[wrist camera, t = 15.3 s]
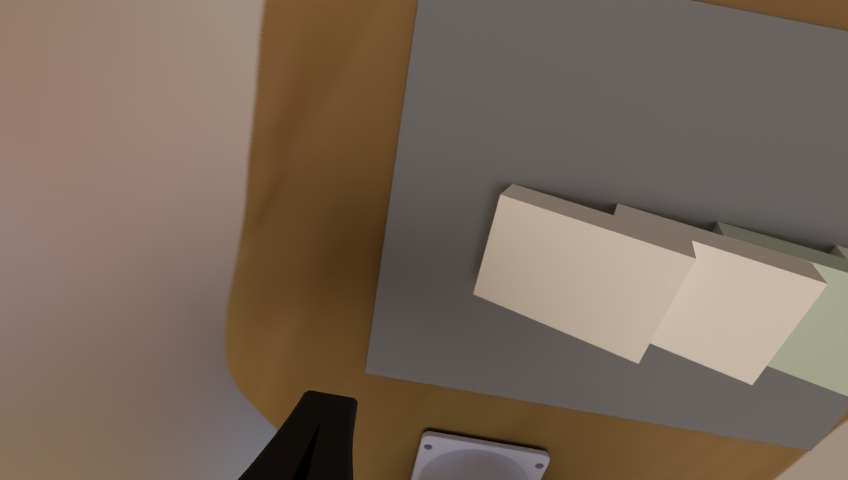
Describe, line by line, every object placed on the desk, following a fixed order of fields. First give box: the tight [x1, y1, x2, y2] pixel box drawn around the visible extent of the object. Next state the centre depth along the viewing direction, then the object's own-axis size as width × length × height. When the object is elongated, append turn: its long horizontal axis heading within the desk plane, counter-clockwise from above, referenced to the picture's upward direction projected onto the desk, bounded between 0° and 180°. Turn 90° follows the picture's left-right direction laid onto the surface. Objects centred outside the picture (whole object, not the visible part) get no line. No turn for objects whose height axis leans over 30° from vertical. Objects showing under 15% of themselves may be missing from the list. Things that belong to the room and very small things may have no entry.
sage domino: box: [712, 221, 848, 396], centre depth 17 cm, size 2×5×7 cm
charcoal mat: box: [365, 0, 848, 451], centre depth 19 cm, size 20×26×1 cm
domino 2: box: [613, 203, 828, 385], centre depth 17 cm, size 2×5×7 cm
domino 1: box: [473, 184, 696, 364], centre depth 17 cm, size 2×5×7 cm
